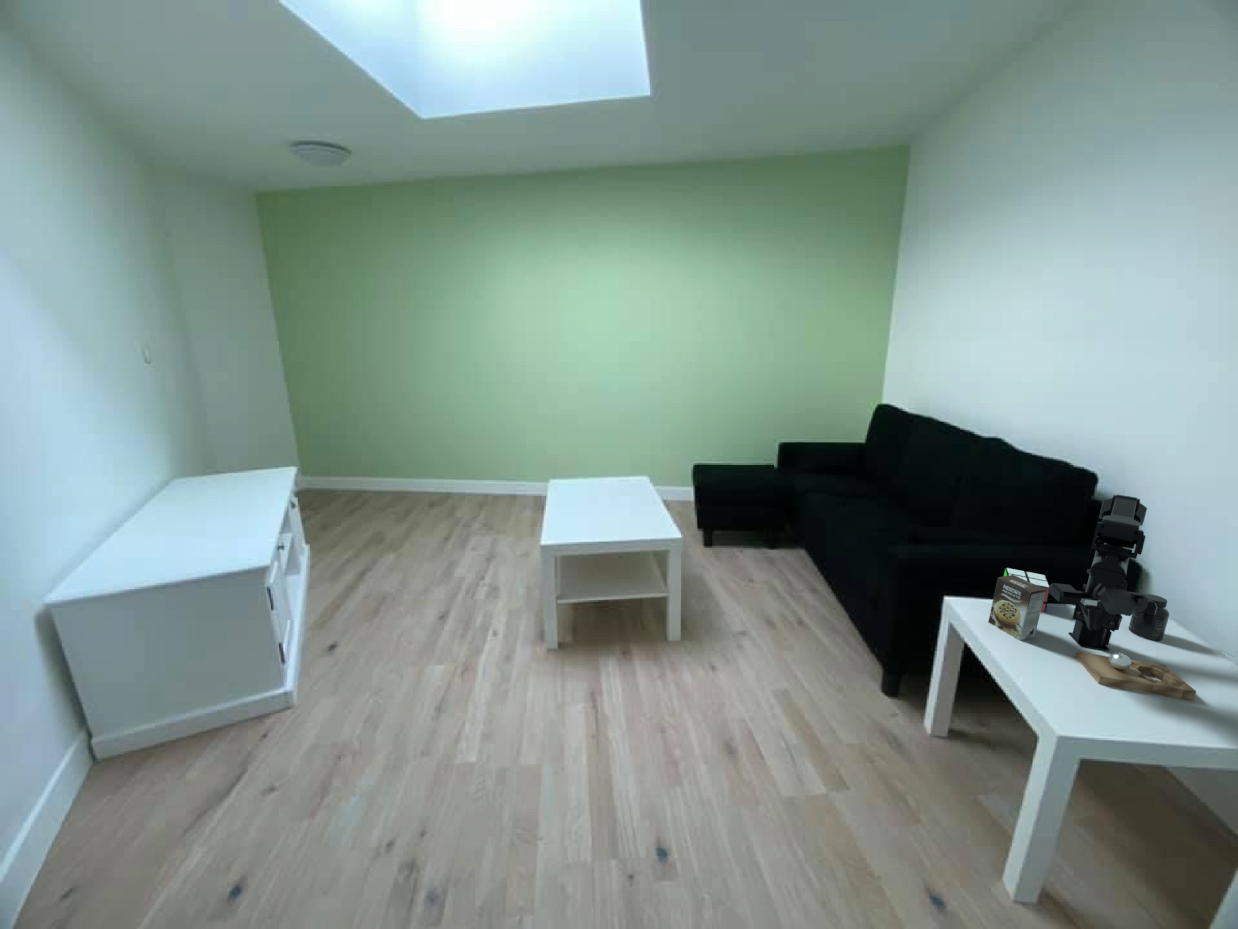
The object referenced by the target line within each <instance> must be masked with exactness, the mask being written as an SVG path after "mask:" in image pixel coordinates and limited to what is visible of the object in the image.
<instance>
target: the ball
mask: <svg viewBox="0 0 1238 929" xmlns="http://www.w3.org/2000/svg"><path fill="white" fill-rule="evenodd" d="M1108 657H1109V662H1110V664H1111V665H1112V666H1113V667H1115V668H1117V669H1119V670H1127V669H1129V668H1130V667H1131V665H1132V662H1131V660H1132V659H1131V658H1130V657H1129V656H1128V655H1126V654H1125V653H1124V652H1123V653H1122V652H1113V653H1110V655H1109V656H1108Z"/></svg>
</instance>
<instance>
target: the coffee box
mask: <svg viewBox="0 0 1238 929" xmlns="http://www.w3.org/2000/svg"><path fill="white" fill-rule="evenodd" d="M1045 594H1046V589H1045V588H1042V587H1040V586H1038V585H1035V584H1033V583H1031V582H1028V581H1026V580H1024V579H1021V578H1019V577H1017V576H1015V575H1010V576H1004V575H1003V576H999V577H997V579H996V585H995V588H994V594H993V597H992V601H991V602H992V604H991V608H990V612H989V616H988V617H989V618H988V624H990V625H992V626H994V627H995V626H996V628H997V629H999V630H1000V631H1002V632H1004V633H1006V634H1008V635H1010V637H1013V638H1014V639H1016V640H1018V641H1024V640H1027V639H1032V638H1034V637H1035V636H1036V632H1037V629H1038V625H1039V620H1040V616H1041V613H1042V612H1041V609H1042V605H1043V601H1044V597H1045Z"/></svg>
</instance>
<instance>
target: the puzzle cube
mask: <svg viewBox="0 0 1238 929" xmlns="http://www.w3.org/2000/svg"><path fill="white" fill-rule="evenodd" d="M1010 575H1015V576H1017V577H1019V578H1021V579H1024V580H1026V581H1028V582H1031V583H1033V584H1035V585H1038V586H1040V587H1042V588H1045V589H1046V594H1045V597H1044V601H1043V605H1042V609H1041V613H1044V614H1045V613H1046V610H1047V607H1048V601H1049V598H1050V595H1051V594H1050V593H1049V592H1048V590H1049V586H1050V583H1049V581H1048V579H1047V577H1046V575H1044V574H1040V573H1035V572H1030V571H1024V570H1019V569H1016V568H1014V569H1013V568H1010V567H1006V568H1004V574H1003V576H1010Z"/></svg>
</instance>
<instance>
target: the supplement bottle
mask: <svg viewBox="0 0 1238 929" xmlns="http://www.w3.org/2000/svg"><path fill="white" fill-rule="evenodd" d="M1143 594H1144V595H1145V596H1146V597H1148V598H1149V599H1151V600H1152V601H1154V602H1155V603H1156V605H1157V611H1156V614H1155V615H1152V614H1144V613H1140V612H1138V611H1134V612H1133V614H1132V615H1131V616H1130V620H1129V625H1128V631H1130V632H1131V633H1132V634H1133V635H1135V636H1138V637H1139V638H1142V639H1145V640H1149V641H1153V642H1161V641H1163V639H1164V636H1165V632H1166V630H1167V624H1168V621H1169V618H1170V612H1169V611H1168V609H1167V606H1168V604H1167V603H1168V600H1167V599H1166V598H1164V597H1162V596H1159V595H1157V594H1150V593H1143Z"/></svg>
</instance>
